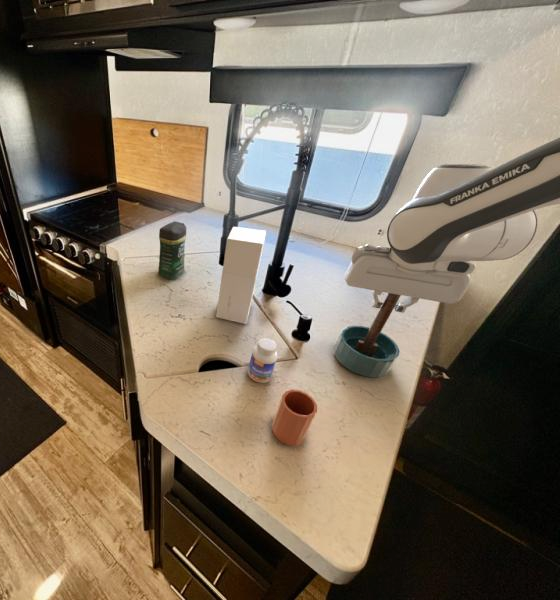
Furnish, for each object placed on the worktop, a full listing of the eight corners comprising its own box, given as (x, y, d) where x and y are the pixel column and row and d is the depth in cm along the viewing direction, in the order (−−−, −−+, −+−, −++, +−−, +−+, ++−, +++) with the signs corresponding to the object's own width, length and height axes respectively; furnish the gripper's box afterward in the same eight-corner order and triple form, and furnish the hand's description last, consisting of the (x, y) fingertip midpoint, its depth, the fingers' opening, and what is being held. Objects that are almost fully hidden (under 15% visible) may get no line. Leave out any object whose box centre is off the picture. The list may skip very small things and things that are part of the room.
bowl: (383, 349, 80) (393, 332, 77) (393, 384, 71) (405, 366, 68) (331, 338, 84) (339, 321, 81) (334, 370, 75) (343, 352, 71)
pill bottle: (247, 380, 72) (254, 350, 66) (247, 364, 76) (254, 334, 71) (271, 385, 71) (281, 355, 65) (270, 368, 75) (279, 338, 70)
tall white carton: (215, 317, 91) (226, 238, 77) (222, 301, 98) (232, 226, 84) (246, 324, 89) (263, 244, 74) (250, 307, 95) (266, 230, 81)
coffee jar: (174, 282, 107) (176, 232, 96) (155, 276, 111) (154, 226, 100) (187, 271, 114) (190, 222, 103) (169, 265, 117) (170, 217, 106)
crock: (303, 423, 63) (316, 394, 58) (303, 450, 58) (317, 422, 53) (273, 413, 65) (283, 385, 60) (270, 439, 60) (281, 411, 55)
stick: (368, 356, 77) (405, 290, 66) (370, 363, 76) (408, 295, 64) (351, 352, 79) (384, 286, 67) (352, 358, 77) (386, 291, 65)
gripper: (359, 249, 61) (336, 306, 69) (488, 268, 55) (446, 327, 63) (355, 237, 66) (334, 291, 74) (473, 253, 60) (436, 310, 68)
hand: (386, 308), depth 68 cm, fingers open, 3 cm apart
